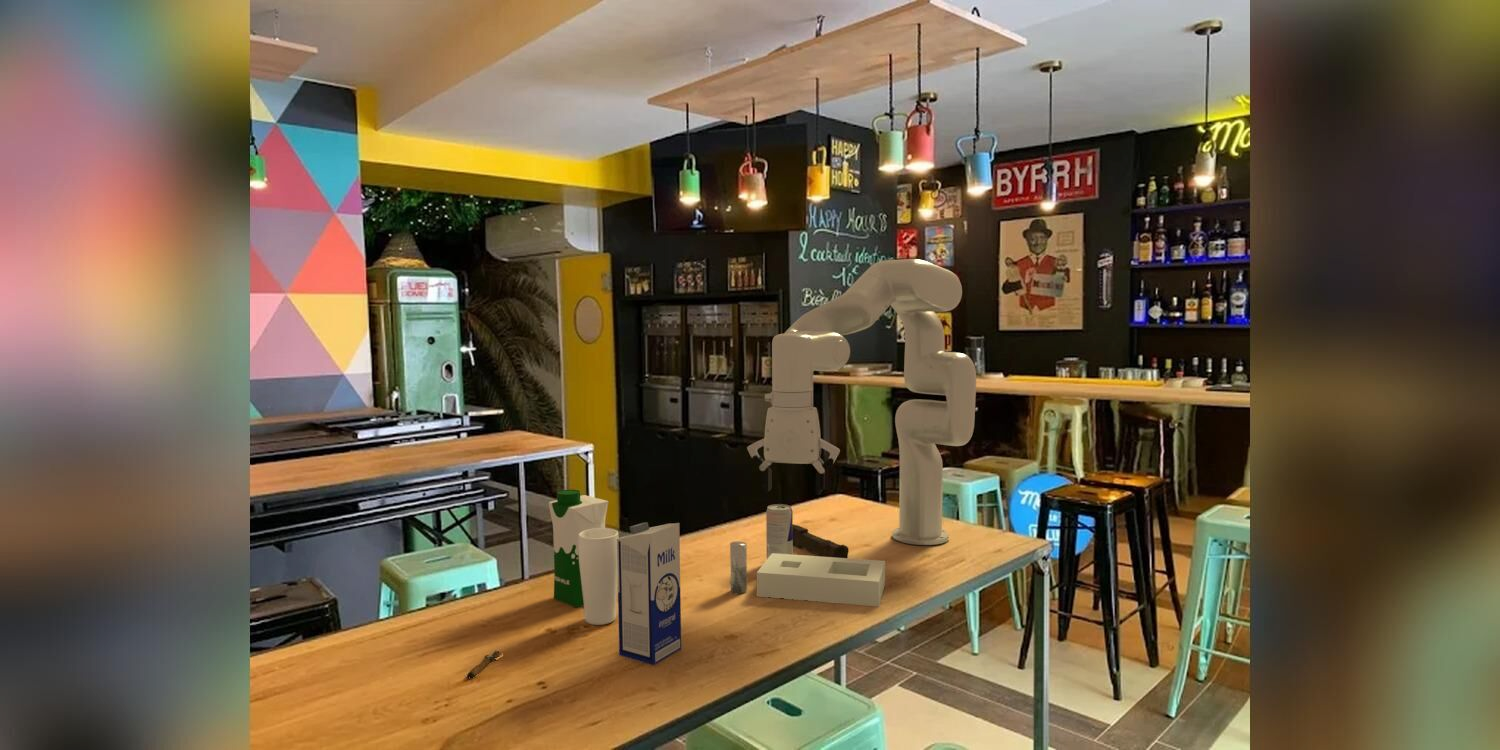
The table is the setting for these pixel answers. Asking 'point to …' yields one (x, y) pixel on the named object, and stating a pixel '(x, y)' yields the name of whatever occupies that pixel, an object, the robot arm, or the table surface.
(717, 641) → the table surface
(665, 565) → the milk carton
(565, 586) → the soya milk
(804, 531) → the hand tool
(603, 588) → the drinking glass
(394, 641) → the table surface
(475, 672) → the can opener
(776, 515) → the energy drink
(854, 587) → the socket block
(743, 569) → the grey metal peg
